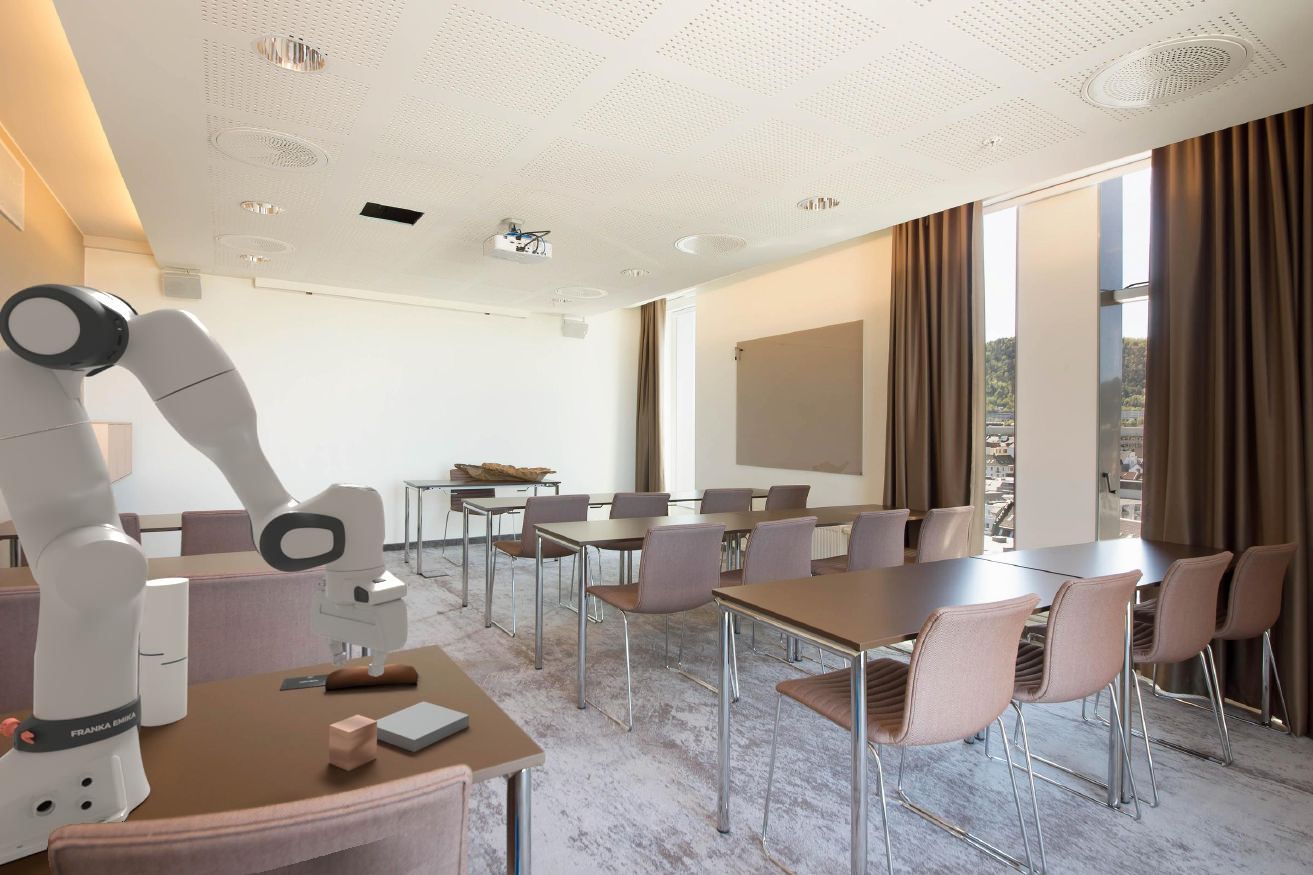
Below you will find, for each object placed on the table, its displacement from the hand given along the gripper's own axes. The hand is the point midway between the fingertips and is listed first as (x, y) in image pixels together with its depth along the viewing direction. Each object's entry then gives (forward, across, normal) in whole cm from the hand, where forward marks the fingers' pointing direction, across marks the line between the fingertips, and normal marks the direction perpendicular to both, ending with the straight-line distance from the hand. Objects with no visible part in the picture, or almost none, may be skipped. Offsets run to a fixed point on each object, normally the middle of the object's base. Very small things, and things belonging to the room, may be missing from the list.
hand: (357, 669), depth 108 cm
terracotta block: (+14, 0, -1) cm, 15 cm away
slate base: (+15, 0, +12) cm, 19 cm away
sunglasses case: (+15, -28, +24) cm, 39 cm away
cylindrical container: (+14, -44, -9) cm, 47 cm away
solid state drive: (+15, -40, +16) cm, 45 cm away
